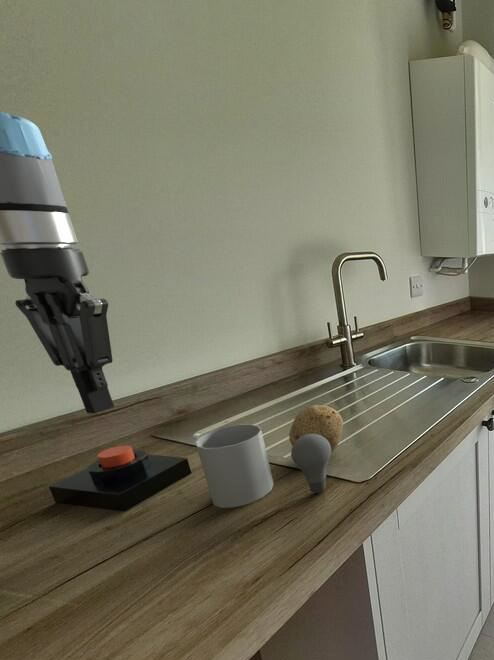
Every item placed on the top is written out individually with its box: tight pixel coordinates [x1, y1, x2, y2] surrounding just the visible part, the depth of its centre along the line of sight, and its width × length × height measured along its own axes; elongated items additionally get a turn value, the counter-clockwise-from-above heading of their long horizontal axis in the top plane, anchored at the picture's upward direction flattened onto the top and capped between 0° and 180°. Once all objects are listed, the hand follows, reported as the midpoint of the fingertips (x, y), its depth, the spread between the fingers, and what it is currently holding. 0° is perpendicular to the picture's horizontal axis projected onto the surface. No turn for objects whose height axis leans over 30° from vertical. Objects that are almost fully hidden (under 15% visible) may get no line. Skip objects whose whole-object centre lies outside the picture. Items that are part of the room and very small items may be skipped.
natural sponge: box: [288, 404, 344, 454], centre depth 75 cm, size 9×9×10 cm
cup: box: [195, 423, 275, 509], centre depth 64 cm, size 8×8×10 cm
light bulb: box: [290, 434, 332, 494], centre depth 64 cm, size 6×6×10 cm
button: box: [97, 445, 135, 468], centre depth 65 cm, size 4×4×2 cm
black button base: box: [48, 449, 192, 513], centre depth 66 cm, size 13×11×5 cm
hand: (100, 409), depth 62 cm, fingers closed
